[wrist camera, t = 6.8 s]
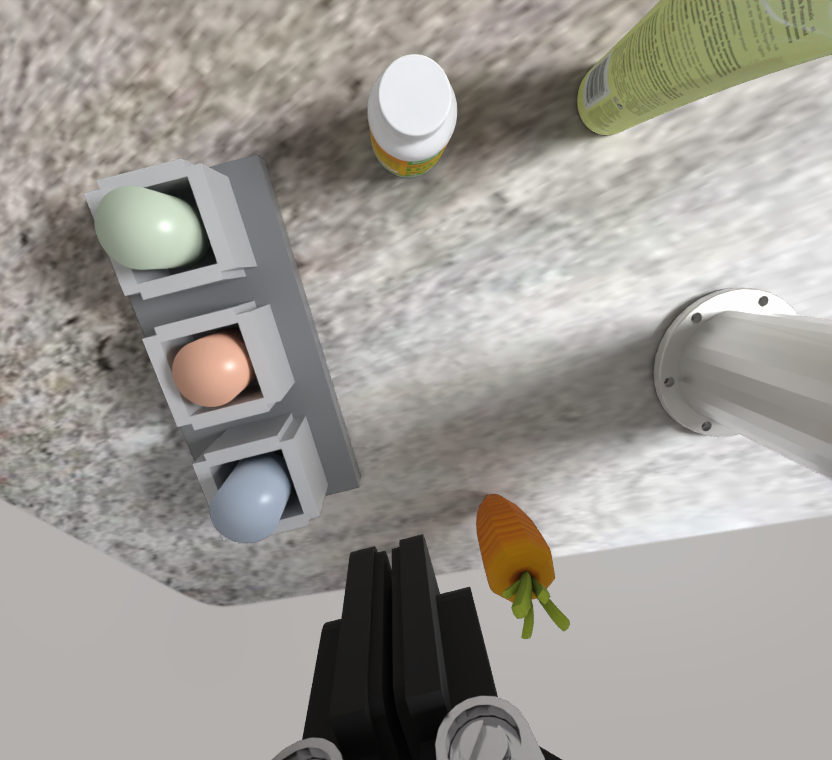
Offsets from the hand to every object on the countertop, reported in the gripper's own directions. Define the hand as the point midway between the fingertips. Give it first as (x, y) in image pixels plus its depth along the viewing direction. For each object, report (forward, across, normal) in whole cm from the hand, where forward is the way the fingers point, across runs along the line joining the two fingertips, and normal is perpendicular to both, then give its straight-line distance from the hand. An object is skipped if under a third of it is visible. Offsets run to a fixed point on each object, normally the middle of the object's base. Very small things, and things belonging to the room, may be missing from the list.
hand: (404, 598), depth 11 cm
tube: (+29, -20, -14) cm, 38 cm away
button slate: (+24, +11, +6) cm, 27 cm away
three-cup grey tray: (+29, +12, -3) cm, 31 cm away
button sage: (+24, +11, -12) cm, 29 cm away
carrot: (+29, -5, +15) cm, 33 cm away
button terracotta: (+26, +12, -3) cm, 29 cm away
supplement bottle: (+29, -5, -15) cm, 33 cm away
